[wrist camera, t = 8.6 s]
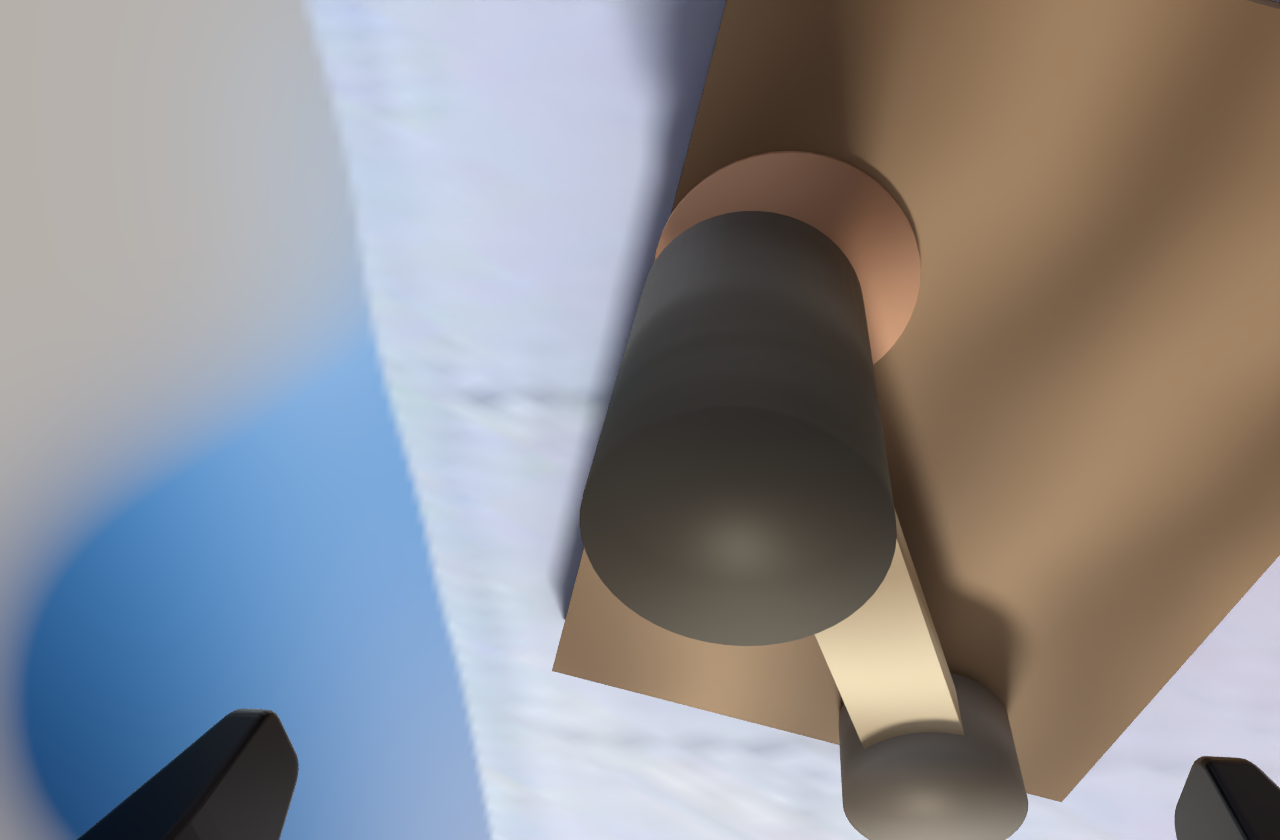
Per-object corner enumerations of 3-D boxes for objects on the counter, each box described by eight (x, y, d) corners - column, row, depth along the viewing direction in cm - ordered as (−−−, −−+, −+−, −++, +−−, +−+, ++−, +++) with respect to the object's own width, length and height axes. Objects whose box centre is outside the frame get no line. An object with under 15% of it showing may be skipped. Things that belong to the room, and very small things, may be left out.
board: (1599, 91, 16) (1676, 120, 15) (1049, 756, 27) (1063, 808, 26) (757, -142, 16) (754, -135, 14) (559, 630, 27) (547, 675, 26)
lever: (1022, 764, 25) (1101, 1091, 19) (862, 784, 26) (886, 1094, 20) (834, 140, 16) (864, 361, 10) (610, 220, 18) (513, 457, 11)
